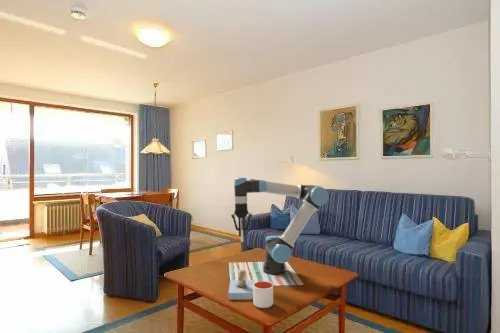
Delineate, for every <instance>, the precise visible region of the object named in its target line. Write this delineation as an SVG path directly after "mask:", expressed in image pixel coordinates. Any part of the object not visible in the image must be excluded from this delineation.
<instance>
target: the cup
mask: <svg viewBox="0 0 500 333" xmlns="http://www.w3.org/2000/svg"><path fill="white" fill-rule="evenodd" d="M252 300H253V302H252V303H253V305H254V306H255V307H256V308H259V309H268V308H270V307H272V306H273V304H274V284H273V283H272V282H269V281H266V280H265V281H263V280H262V281H256V282H254V285H253V299H252Z"/></svg>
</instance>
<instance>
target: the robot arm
mask: <svg viewBox="0 0 500 333" xmlns="http://www.w3.org/2000/svg"><path fill="white" fill-rule="evenodd" d="M234 178H235V179H234V212H233V213H232V214H231V215H230V216H231V218H232V219H233V224H234V228H235V231H238V236H239V237H240V242H241V243H243V242H244V240H245V239H244V237H245V236H246V231H247V230H249V227H250V226H249V225H250V221H251V218H252V215H253V214H252V213H251V212H249V210H248V194H249V193H250V194H251V193H252V194H253V193H255V194H256V193H260V194H261V193H267V194H273V195H280V196H286V197H287V196H288V197H294V198H296V199H298V200H302V205H301V206H300V207H299V209H298V210H297V211H296V213H295V215H294V216H293V218H292V219H291V221H290V223H289V224H288V226H287V227H286V229H285V231H284V232H283V233H282V234H281V235H268V236H266V237H265V260H264V264H263V267H262V270H263V272H264V273H266V274H269V275H281V274H282V275H283V274H284V273H286V272H287V267H286V263H287V262H289V261H290V259H292V251H293V249H294V248H295V243H296V241H297V239H298V237H299V235H300V234H301V233H302V231H303V230H304V228H305V226H306V225H307V223H308V222H309V220H310V219H311V217H312V216H313V214H314V213H315V212H317V211H319V209H320V208H321V207H322V206H324V205H326V204H327V202H328V201H329V194H328V191H327V189H326V188H324V187H322V186H321V185H313V184H309V185H308V184H298V185H295V184H287V183H281V182H276V181H275V182H274V181H268V180H265V179H263V180H262V179H255V178H251V179H249V180H247V179H248V178H247V177H234ZM236 217H237V219H238V220H237V221H238V223H237V221H236ZM246 217H247V220H246ZM241 219H242V221H241ZM241 223H242V225H241ZM241 227H242V228H241Z"/></svg>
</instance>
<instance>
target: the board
mask: <svg viewBox="0 0 500 333" xmlns="http://www.w3.org/2000/svg"><path fill="white" fill-rule="evenodd" d="M254 283H255V279H246V287H245V288H239V287H238V279H232V280H229V288H228V295H227V296H228V298H227V299H228V300H230V301H231V300H236V301H237V300H238V301H239V300H241V301H245V300H246V301H248V300H253V285H254Z"/></svg>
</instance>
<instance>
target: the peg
mask: <svg viewBox="0 0 500 333" xmlns="http://www.w3.org/2000/svg"><path fill="white" fill-rule="evenodd" d="M237 272H238V273H237V274H238V276H237V277H238V278H237V280H238V287H239V288H245V287H246V280H247V278H246V277H247V274H246V273H247V270H246V269H238V271H237Z"/></svg>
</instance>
